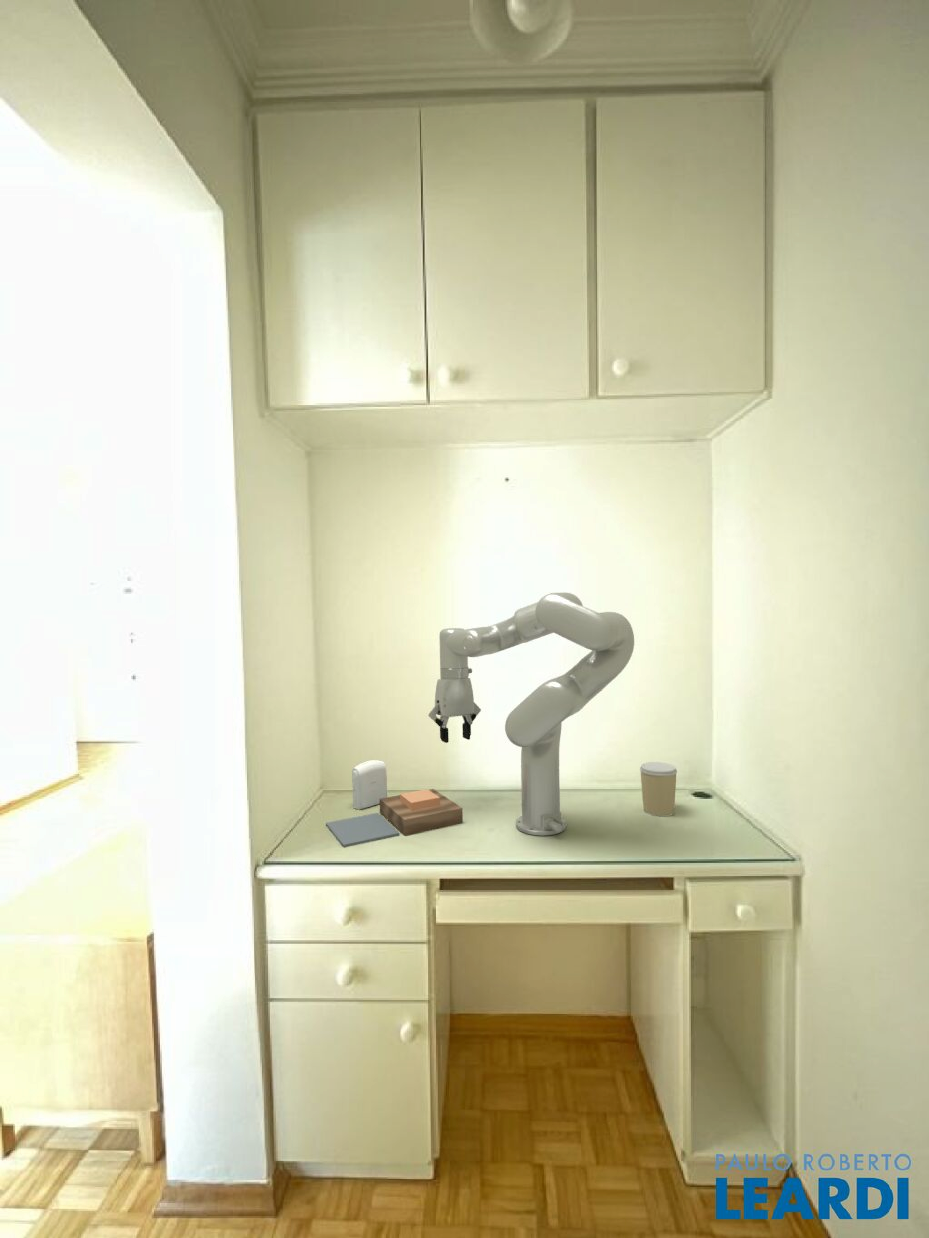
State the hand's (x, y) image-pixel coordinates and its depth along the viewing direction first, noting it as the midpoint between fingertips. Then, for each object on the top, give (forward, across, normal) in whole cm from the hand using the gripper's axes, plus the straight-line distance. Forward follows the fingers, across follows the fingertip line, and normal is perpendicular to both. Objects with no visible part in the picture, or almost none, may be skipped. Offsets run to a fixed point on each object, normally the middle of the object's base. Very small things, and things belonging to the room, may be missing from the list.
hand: (455, 739), depth 164 cm
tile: (+16, +11, 0) cm, 19 cm away
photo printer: (+20, +19, -17) cm, 32 cm away
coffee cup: (+20, -46, +28) cm, 57 cm away
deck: (+20, +11, 0) cm, 22 cm away
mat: (+20, +27, 0) cm, 33 cm away
